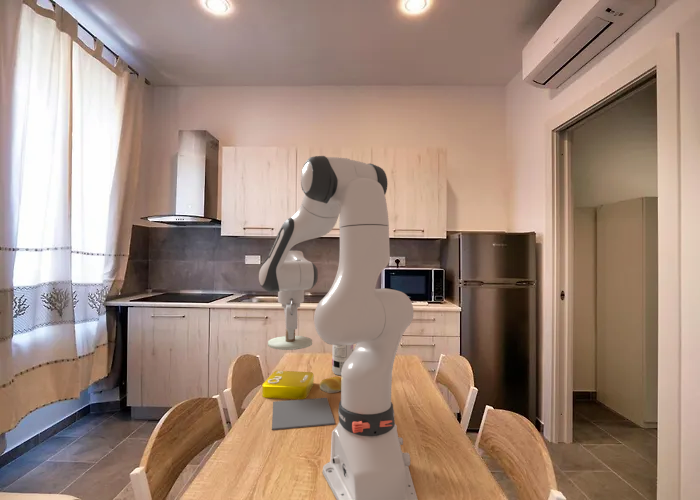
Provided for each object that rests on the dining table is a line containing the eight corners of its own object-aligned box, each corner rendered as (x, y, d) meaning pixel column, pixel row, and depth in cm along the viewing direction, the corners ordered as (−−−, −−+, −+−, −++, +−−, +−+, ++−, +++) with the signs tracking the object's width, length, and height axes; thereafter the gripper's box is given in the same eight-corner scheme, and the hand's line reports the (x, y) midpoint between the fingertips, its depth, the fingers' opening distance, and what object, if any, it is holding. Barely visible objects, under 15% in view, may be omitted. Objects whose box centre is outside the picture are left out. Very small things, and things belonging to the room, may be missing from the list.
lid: (314, 348, 113) (314, 332, 113) (267, 350, 110) (267, 333, 110) (310, 337, 128) (310, 322, 128) (268, 339, 125) (268, 324, 125)
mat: (335, 424, 95) (335, 422, 95) (271, 430, 92) (271, 428, 92) (326, 398, 112) (326, 397, 112) (273, 402, 108) (273, 401, 108)
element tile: (305, 401, 111) (305, 386, 111) (260, 398, 112) (260, 384, 112) (314, 383, 126) (314, 370, 126) (274, 381, 127) (274, 368, 127)
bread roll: (350, 388, 121) (350, 376, 121) (331, 395, 115) (332, 383, 115) (333, 382, 127) (334, 371, 127) (315, 388, 120) (315, 377, 120)
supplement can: (329, 370, 138) (329, 333, 139) (347, 368, 142) (348, 331, 142) (337, 377, 131) (337, 337, 131) (356, 374, 135) (356, 335, 135)
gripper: (302, 301, 109) (301, 344, 109) (298, 293, 129) (298, 330, 129) (281, 301, 108) (281, 345, 108) (281, 293, 128) (281, 331, 128)
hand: (290, 337), depth 119 cm, fingers closed on lid, 3 cm apart
